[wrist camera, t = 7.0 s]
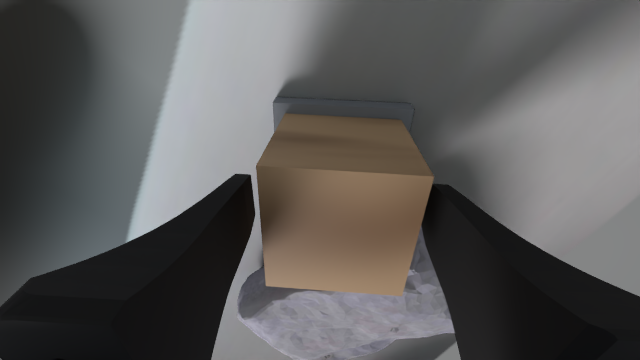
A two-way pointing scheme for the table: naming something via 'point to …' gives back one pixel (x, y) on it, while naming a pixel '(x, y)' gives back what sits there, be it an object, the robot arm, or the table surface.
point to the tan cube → (341, 203)
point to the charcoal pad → (342, 109)
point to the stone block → (345, 314)
